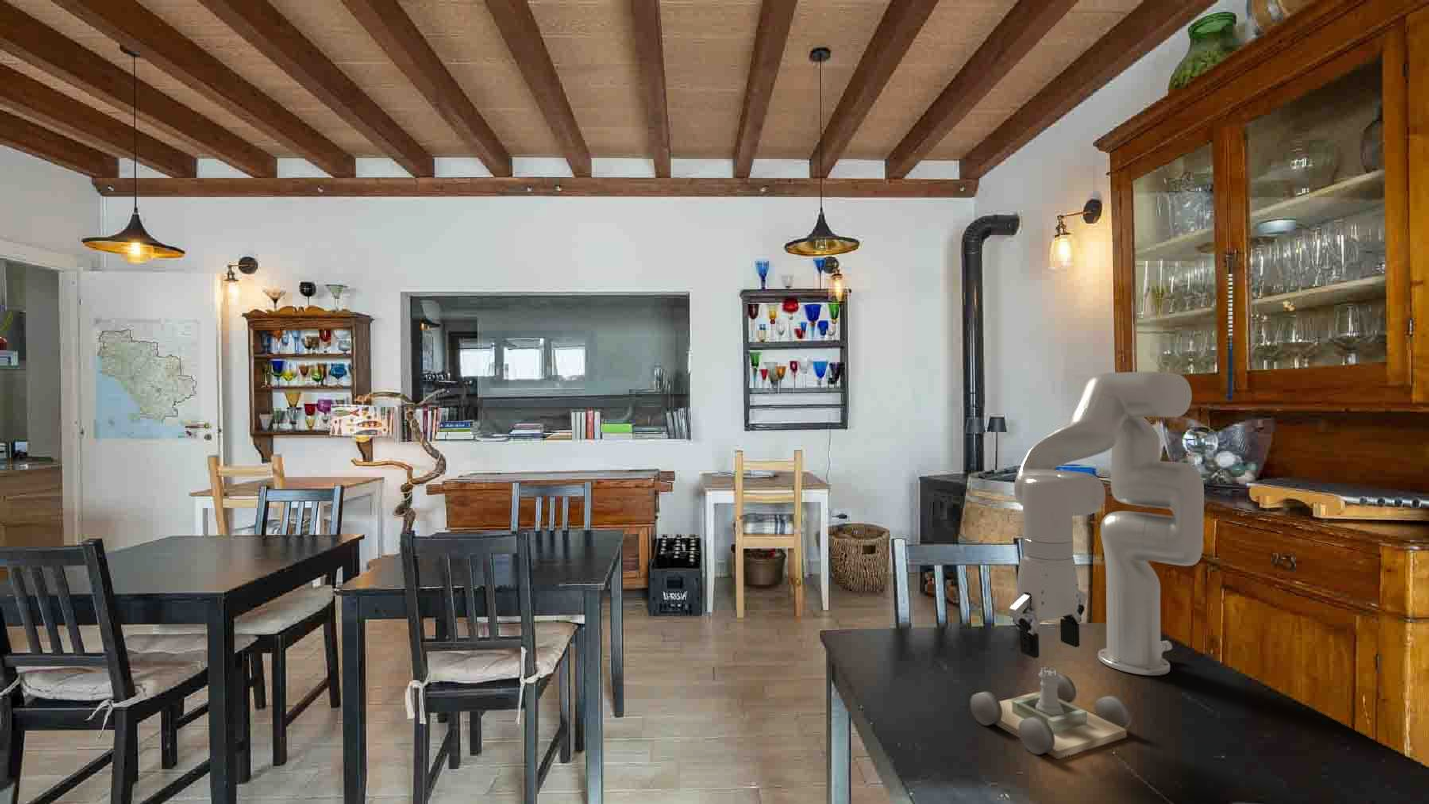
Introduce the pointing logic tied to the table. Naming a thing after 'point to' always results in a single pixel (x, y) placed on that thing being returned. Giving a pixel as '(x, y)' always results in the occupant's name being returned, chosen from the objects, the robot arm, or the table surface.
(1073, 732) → the car chassis
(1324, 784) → the table surface
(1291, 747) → the table surface
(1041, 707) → the rook chess piece
